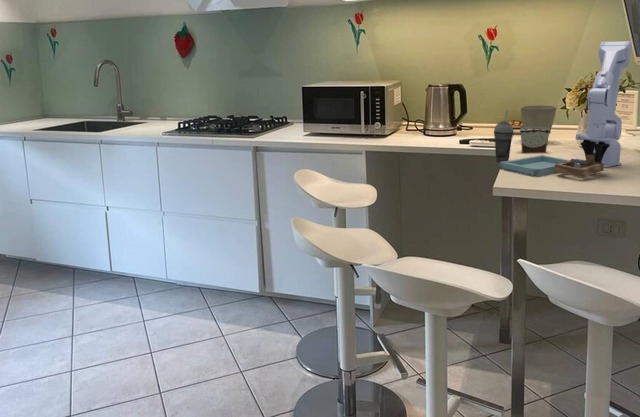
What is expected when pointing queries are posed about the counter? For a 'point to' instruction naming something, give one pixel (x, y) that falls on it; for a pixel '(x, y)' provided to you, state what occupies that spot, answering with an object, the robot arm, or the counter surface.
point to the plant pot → (538, 116)
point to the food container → (534, 139)
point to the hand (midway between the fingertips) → (593, 162)
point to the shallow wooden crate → (580, 172)
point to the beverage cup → (503, 140)
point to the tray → (532, 165)
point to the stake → (579, 163)
